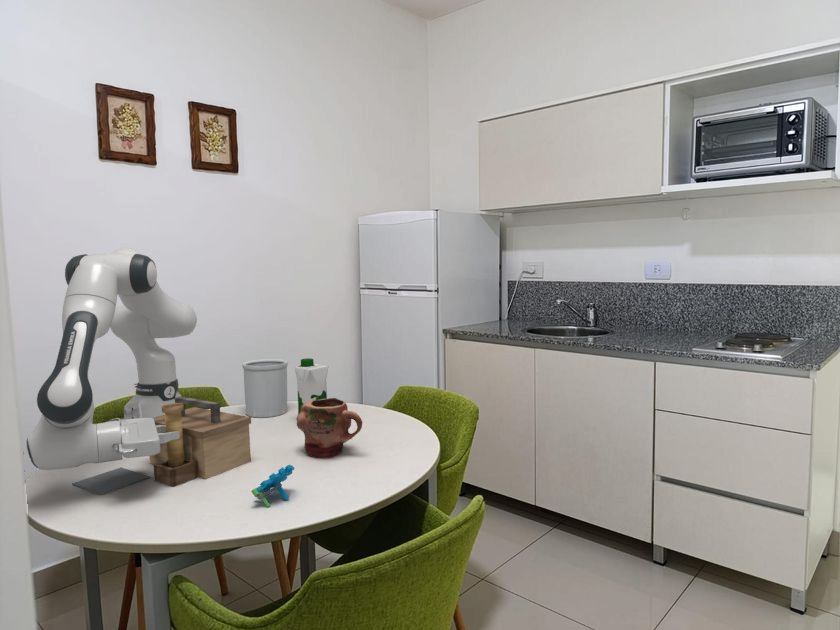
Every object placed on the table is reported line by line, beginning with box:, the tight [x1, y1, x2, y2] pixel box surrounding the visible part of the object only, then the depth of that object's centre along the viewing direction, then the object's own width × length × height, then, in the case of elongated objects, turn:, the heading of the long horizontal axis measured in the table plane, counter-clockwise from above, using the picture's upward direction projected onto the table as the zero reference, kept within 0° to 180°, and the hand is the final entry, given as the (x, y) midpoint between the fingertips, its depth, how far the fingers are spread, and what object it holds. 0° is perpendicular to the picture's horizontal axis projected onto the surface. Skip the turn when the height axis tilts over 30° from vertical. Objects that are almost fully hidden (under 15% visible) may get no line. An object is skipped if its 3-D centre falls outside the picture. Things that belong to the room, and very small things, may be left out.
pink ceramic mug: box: [296, 397, 363, 459], centre depth 156 cm, size 20×12×14 cm, turn 72°
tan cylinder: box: [162, 403, 185, 468], centre depth 139 cm, size 5×5×16 cm
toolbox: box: [149, 395, 252, 488], centre depth 148 cm, size 23×21×16 cm
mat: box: [71, 467, 150, 496], centre depth 140 cm, size 12×12×1 cm
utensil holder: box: [242, 358, 288, 419], centre depth 199 cm, size 15×15×18 cm
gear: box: [251, 464, 295, 508], centre depth 127 cm, size 11×6×10 cm
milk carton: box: [294, 357, 329, 416], centre depth 187 cm, size 9×9×20 cm
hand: (178, 431), depth 139 cm, fingers closed on tan cylinder, 4 cm apart
